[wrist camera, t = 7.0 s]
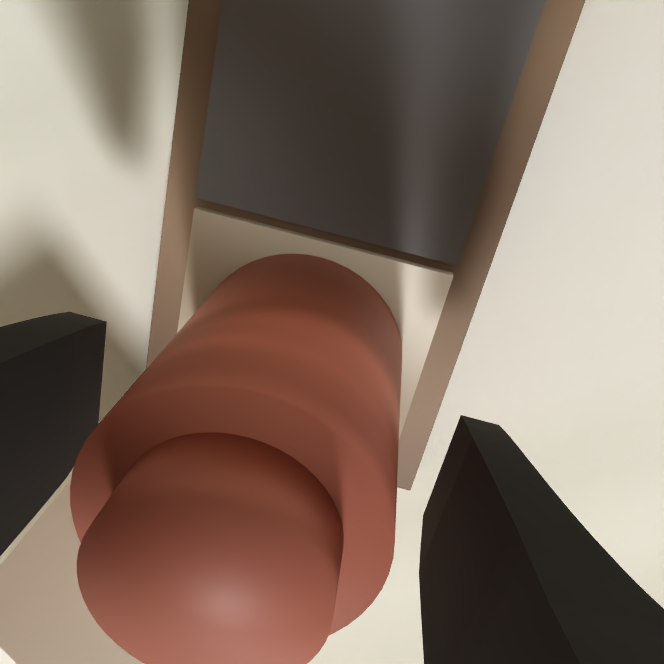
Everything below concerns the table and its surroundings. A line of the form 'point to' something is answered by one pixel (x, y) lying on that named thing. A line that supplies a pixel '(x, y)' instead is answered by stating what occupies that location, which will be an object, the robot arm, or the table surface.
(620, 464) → the table surface
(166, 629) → the pawn
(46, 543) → the die
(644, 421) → the table surface
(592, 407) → the table surface
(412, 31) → the board
